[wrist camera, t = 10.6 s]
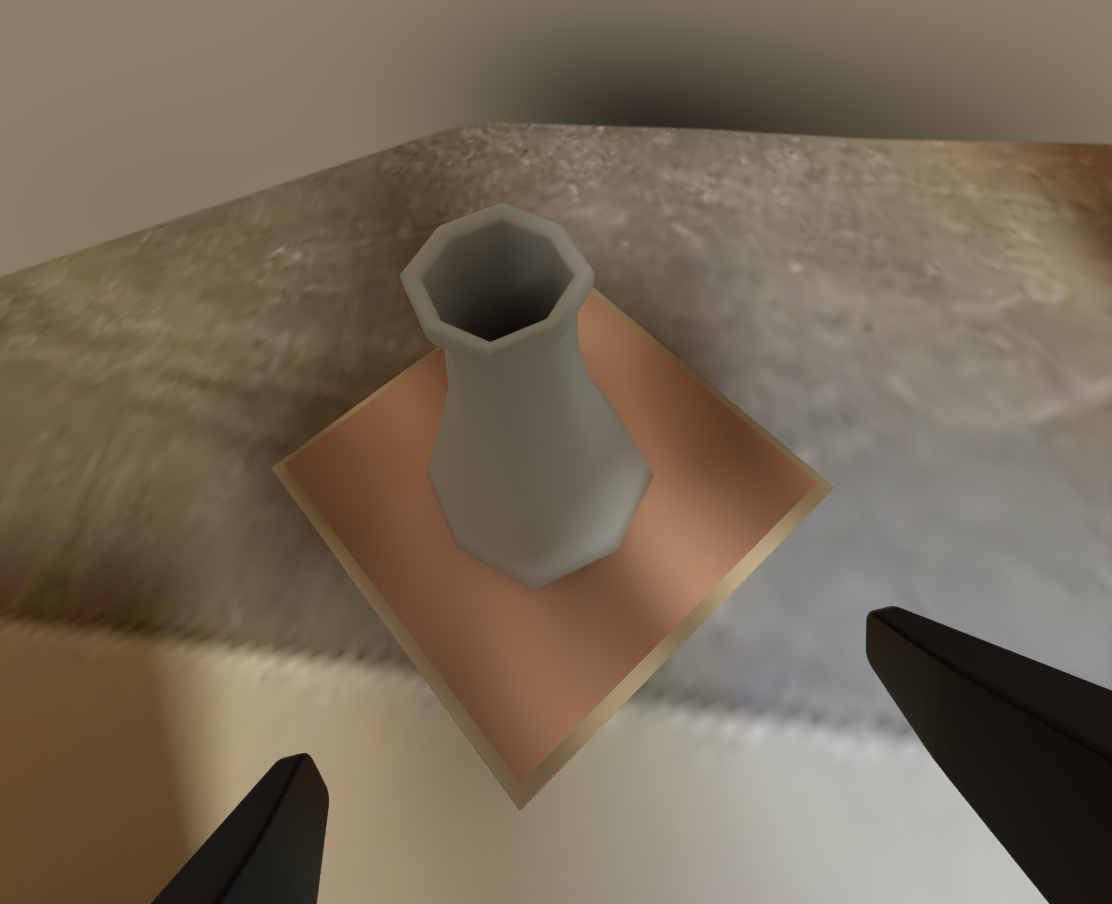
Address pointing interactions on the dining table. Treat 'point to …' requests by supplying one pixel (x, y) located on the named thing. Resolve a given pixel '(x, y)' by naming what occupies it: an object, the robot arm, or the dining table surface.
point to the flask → (521, 399)
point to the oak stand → (577, 598)
